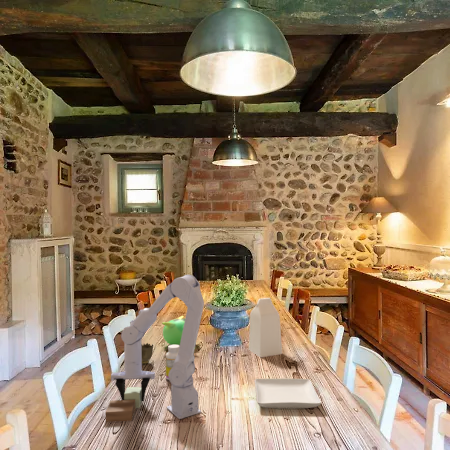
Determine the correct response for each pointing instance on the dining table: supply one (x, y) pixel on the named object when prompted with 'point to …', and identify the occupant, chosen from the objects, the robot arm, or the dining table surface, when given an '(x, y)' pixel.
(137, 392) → the green cube
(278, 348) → the milk
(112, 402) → the walnut block
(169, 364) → the supplement bottle
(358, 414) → the dining table surface
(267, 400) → the salad plate
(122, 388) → the robot arm
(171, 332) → the green rounded piece
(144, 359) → the cup
